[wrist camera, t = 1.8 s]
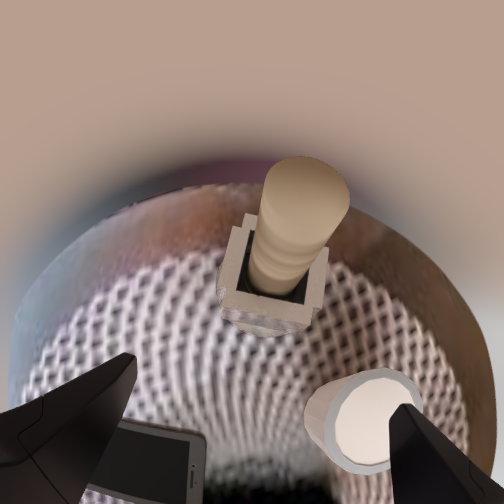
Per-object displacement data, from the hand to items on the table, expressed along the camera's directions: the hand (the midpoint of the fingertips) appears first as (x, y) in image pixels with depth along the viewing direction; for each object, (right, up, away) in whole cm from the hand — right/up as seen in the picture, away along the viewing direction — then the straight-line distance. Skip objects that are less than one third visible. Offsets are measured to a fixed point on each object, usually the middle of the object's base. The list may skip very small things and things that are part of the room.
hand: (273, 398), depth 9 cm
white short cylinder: (+6, -8, +12) cm, 16 cm away
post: (+1, +2, +14) cm, 15 cm away
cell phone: (-11, -12, +9) cm, 19 cm away
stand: (+1, +2, +16) cm, 16 cm away
